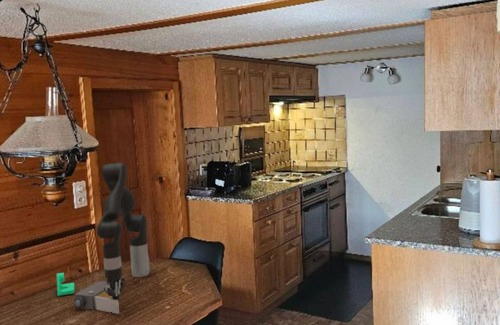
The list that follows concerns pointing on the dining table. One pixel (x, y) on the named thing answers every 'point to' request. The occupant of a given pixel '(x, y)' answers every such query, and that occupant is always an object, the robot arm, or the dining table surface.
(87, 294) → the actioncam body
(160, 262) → the dining table surface
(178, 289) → the dining table surface
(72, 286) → the camera mount
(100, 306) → the side door
